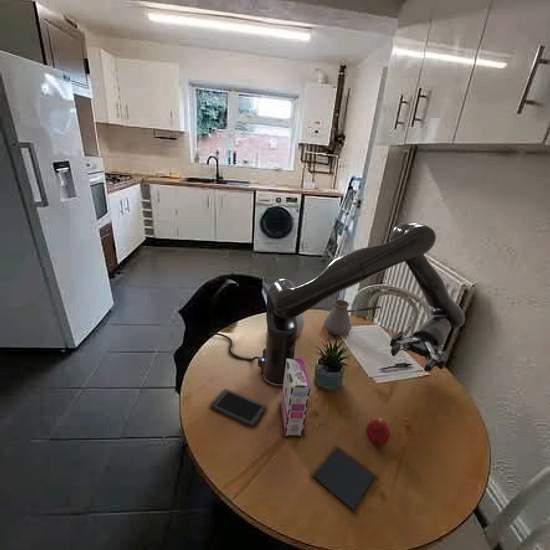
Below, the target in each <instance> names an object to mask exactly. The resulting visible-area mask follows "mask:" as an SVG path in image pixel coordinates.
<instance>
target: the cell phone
mask: <svg viewBox="0 0 550 550" xmlns="http://www.w3.org/2000/svg"><path fill="white" fill-rule="evenodd" d="M210 407H211V408H212V409H213V410H216V411H218V412H220V413H222V414H224V415H227V416H228V417H231V418H232V419H234V420H237V421H239V422H241V423H243V424H245V425H247V426H249V427H254V426H255V425H256V424H257V422H258V421H259V419H260V418H261V416H262V415H263V414H264V411H265V410H266V407H265V406H264V405H263V404H261V403H258V402H256V401H254V400H252V399H249V398H246V397H245V396H242V395H241V394H238V393H235V392H233V391H230V390H228V389H224V390H222V391H221V393H219V395H218V396H217V397H216V398H215V400H214V401H213V402H212V403H211V404H210Z"/></svg>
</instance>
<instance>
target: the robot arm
mask: <svg viewBox="0 0 550 550" xmlns="http://www.w3.org/2000/svg"><path fill="white" fill-rule="evenodd" d="M436 240H437V235H436V232H435V231H434V229H433V228H432V227H430V226H428V225H426V224H423V223H416V222H410V221H409V222H408V221H405V222H401V223H399V224H398V225H396V226H395V227H394V229H393V231H392V233H391V240H390V241H387V242H385V243H381V244H377V245H372V246H365V247H361V248H358V249H355V250H352V251H349V252H347V253H345V254H343V255H341V256H339V257H337V258H335V259H334V260H332V261H331V262H330V263H329V264H328V265H327V266H326V267H325V268H324V270H323V271H322V272H321V273H320V274H319V275H318V276H316V277H315V278H314V279H312V280H311V281H309V282H306V283H304V284H302V285H300V286H297V285H296V284H295V283H294V282H293V281H292V280H289V279H286V278H281V279H278V280H275V281H274V282H272V284H271V285H270V286H269V288H268V291H267V296H266V309H265V311H266V312H265V320H266V338H265V339H266V340H265V348H263V349H262V356H253V357H252V358H251V357H250V358H247V357H242V356H239V355H237V354H235V353H233V351H232V346H233V340H232V339H231V338H230V337H229V336H228V335H225V334H223V333H220V332H211V333H209V334H207V336H208V337H211V336H220V337H223V338H225V339H227V340H228V341H229V347H228V353H229V354H230V355H231V356H232V357H234V358H236V359H239V360H242V361H249V362H253V361H255V360H257V367H258V368H260V369H261V372H260V374H261V375H262V377H263V380H264V382H266V383H267V384H268V385H270V386H272V387H283V383H284V375H285V367H286V359H295V354H296V346H297V345H296V344H297V338H298V336H297V329H298V325H297V321H296V316H298V315H300V314H302V313H305V312H306V311H308V310H310V309H312V308H313V307H315V306H316V305H318V304H320V303H321V302H323V301H325V300H327V299H329V298H331V297H333V296H335V295H337V294H339V293H341V292H343V291H344V290H347V289H349V288H352V287H354V286H356V285H358V284H361V283H363V282H365V281H366V280H368V279H370V278H372V277H374V276H376V275H378V274H381V273H382V272H384V271H386V270H388V269H390V268H392V267H395V266H397V265H400V264H401V263H405V264H406V265H407V267H408V268H409V271H410V273H412V276H413V277H414V279H415V281H416V283H417V285H418V287H419V289H420V291H421V293H422V295H423V298H424V300H425V303H426V304H427V305H428V306H429V307H430V308H431V309H429V310H428V312H427V320H426V321H425V322H423V323H422V324H421V325H420V326H419V327H418V328H417V329H416V330H415V331H414V332H413V333H412V334H411V335H409V336H406V335H404V331H400V330H399V331H398V332H397V333H396V334H395V335H393V336H392V337H391V338H390V342H389V346H390V347H391V349H390V354H391V356H392V357H396V355H397V354H398V353H399V352H400V351H403V352H406V353H407V352H412V353H414V354H417V355H418V356H420V357H423V358H424V359H425V361H426V364H425V366H424V369H423V371H424V372H426V373H428V372H432V370H433V369H434V368H436V367H437V368H438V369H439V370H443V369H444V367H445V366H446V363H447V361H448V358H449V356H450V351H449V350H444V351H441V350H439V349H440V348H441V347H442V345H443V344H444V343H445V341H446V338H447V336H449V334H450V332H451V330H452V329H457V328H461V327H462V326H463V325H464V324H465V321H466V318H465V314H464V311H463V309H462V308H461V307H460V305H459V304H457V302H455V300H454V299H453V298H452V297H451V295H450V294H449V292H448V289H447V287H446V284H445V282H444V280H443V278H442V277H441V275H440V274H439V273H438V271H437V270H436V269H435V268H434V266H433V265H432V264H431V263H430V262H429V260H428V259H427V257H426V256H425V254H427V253H428V252H429V251H431V250H432V249H433V247H434V245H435V243H436ZM437 356H438V357H437Z"/></svg>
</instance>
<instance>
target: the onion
mask: <svg viewBox="0 0 550 550" xmlns="http://www.w3.org/2000/svg"><path fill="white" fill-rule="evenodd" d="M365 435H366V437H367V440H368V441H369V442H370V443H371V444H373V445H376V446H379V447H380V446H384V445H386V443H388V441H389V439H390V436H391V431H390V428H389V426H388V424H387V422H385V421H384V419H383V418H382V417H380V418H375V419H372V420H370V421H368V423H367V424H366V427H365Z"/></svg>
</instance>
